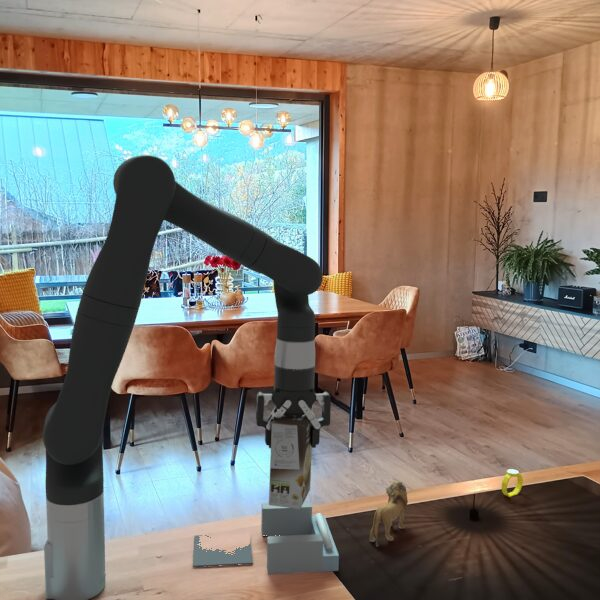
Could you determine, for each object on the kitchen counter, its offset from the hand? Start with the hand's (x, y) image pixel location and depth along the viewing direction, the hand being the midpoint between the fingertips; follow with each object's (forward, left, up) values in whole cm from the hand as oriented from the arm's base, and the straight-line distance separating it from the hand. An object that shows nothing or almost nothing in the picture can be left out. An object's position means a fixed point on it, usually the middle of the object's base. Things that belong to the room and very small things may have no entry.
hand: (292, 446), depth 123 cm
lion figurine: (+21, +6, -21) cm, 30 cm away
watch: (+55, +20, -21) cm, 62 cm away
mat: (-13, +1, -21) cm, 25 cm away
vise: (+2, 0, -21) cm, 21 cm away
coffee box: (0, 0, -10) cm, 10 cm away
